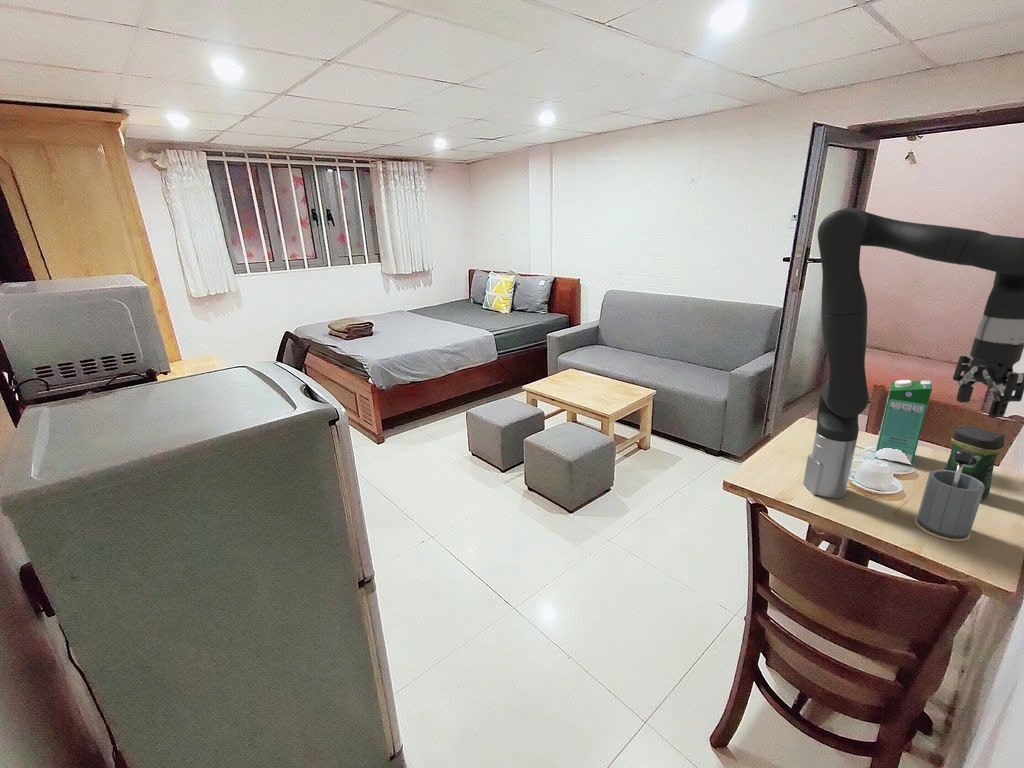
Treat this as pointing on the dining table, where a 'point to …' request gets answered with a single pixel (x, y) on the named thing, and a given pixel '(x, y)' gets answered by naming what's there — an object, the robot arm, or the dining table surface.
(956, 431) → the coffee jar
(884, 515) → the dining table surface
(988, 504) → the dining table surface
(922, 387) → the milk carton
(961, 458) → the plunger
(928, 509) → the press carafe
